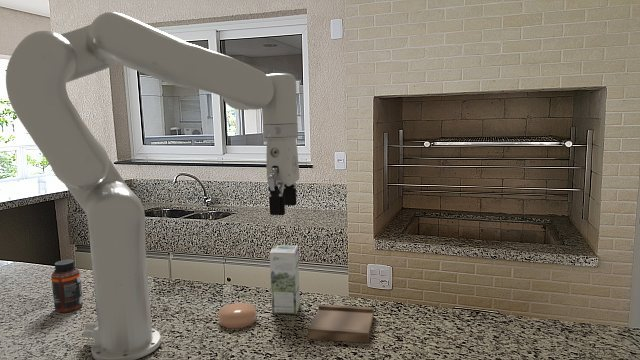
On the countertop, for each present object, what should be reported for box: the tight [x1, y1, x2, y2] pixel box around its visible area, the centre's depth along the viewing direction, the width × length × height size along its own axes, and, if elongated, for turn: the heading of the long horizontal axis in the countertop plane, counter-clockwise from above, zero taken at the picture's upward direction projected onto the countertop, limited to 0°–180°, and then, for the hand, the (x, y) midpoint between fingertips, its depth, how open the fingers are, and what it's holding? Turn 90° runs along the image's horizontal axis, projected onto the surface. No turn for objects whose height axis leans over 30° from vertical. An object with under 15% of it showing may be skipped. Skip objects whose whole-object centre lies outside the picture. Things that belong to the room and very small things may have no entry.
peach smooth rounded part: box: [218, 302, 257, 329], centre depth 105 cm, size 8×8×2 cm
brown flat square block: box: [307, 304, 375, 344], centre depth 100 cm, size 12×12×2 cm
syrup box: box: [269, 245, 301, 315], centre depth 109 cm, size 6×6×14 cm
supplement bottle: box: [50, 259, 84, 313], centre depth 113 cm, size 6×6×11 cm
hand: (283, 209), depth 107 cm, fingers open, 9 cm apart
